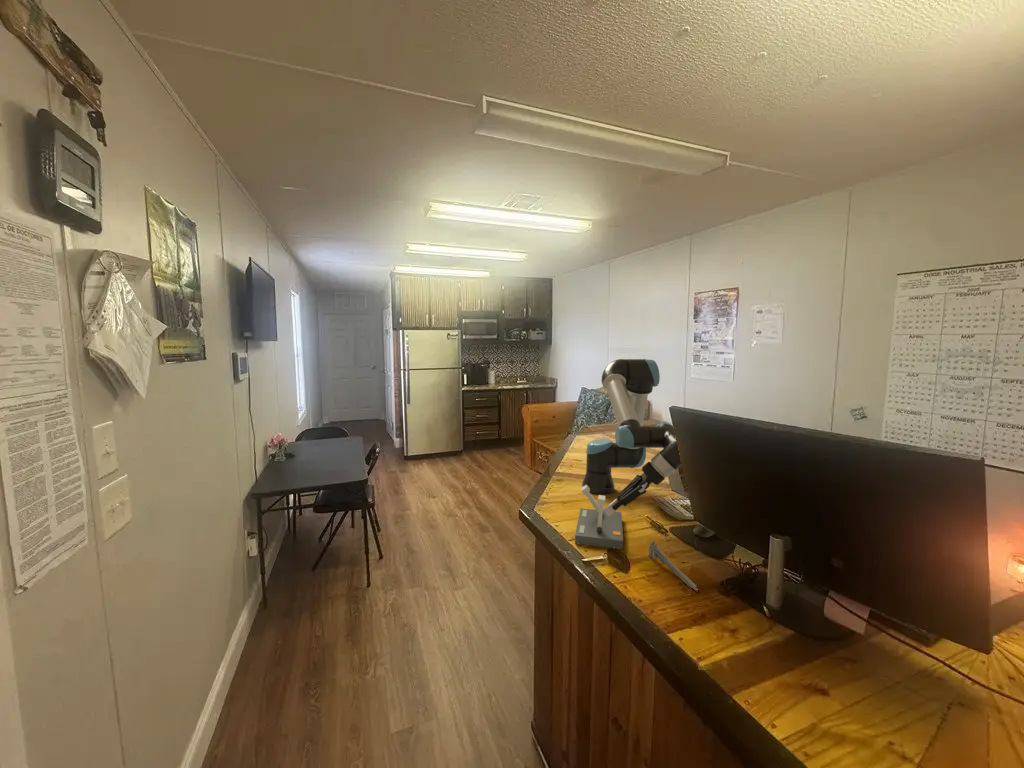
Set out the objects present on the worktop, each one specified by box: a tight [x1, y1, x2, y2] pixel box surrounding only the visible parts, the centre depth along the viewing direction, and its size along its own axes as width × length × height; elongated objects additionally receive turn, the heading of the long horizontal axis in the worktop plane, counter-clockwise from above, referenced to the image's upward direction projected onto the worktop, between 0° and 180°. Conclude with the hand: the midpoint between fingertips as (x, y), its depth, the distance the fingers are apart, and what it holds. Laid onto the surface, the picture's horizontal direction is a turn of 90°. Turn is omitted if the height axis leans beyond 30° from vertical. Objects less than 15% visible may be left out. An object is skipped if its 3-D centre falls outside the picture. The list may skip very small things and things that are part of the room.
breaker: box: [580, 485, 603, 515], centre depth 158 cm, size 4×2×12 cm
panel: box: [574, 507, 624, 550], centre depth 151 cm, size 24×16×3 cm, turn 166°
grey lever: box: [597, 494, 606, 533], centre depth 143 cm, size 4×2×12 cm, turn 166°
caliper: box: [648, 540, 699, 591], centre depth 123 cm, size 20×1×6 cm, turn 21°
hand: (606, 513), depth 142 cm, fingers closed
